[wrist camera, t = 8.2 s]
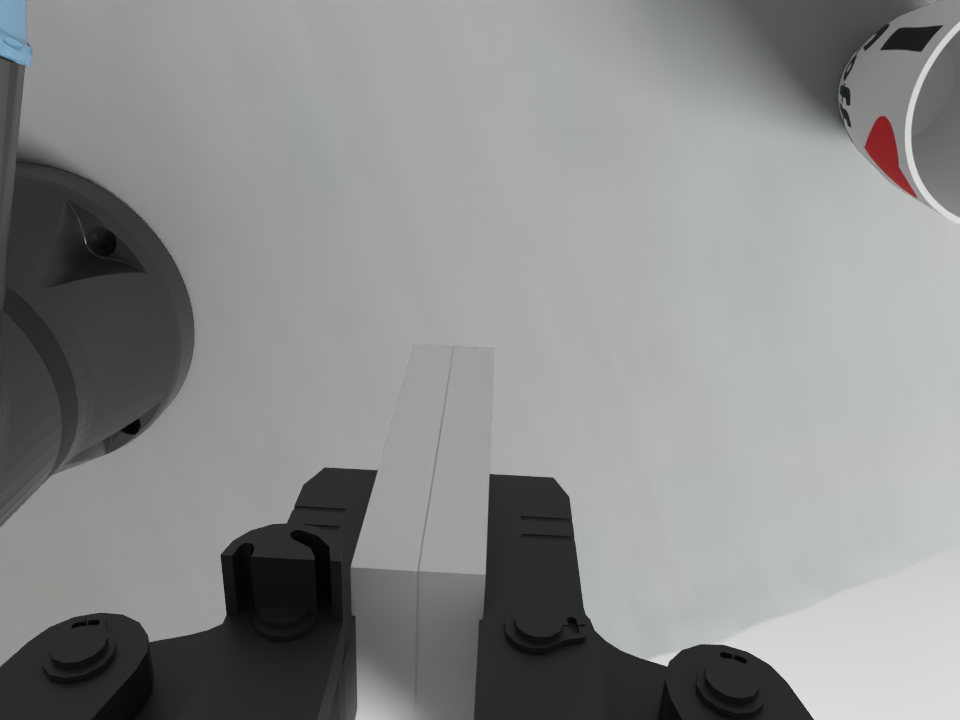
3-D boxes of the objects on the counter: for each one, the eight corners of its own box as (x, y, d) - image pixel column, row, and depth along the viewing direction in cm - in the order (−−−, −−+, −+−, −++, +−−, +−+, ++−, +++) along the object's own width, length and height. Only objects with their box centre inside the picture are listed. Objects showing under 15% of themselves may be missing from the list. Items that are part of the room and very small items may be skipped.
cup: (822, -16, 34) (937, -28, 25) (1016, -13, 34) (1205, -23, 25) (789, 176, 37) (881, 229, 28) (966, 181, 37) (1117, 236, 28)
